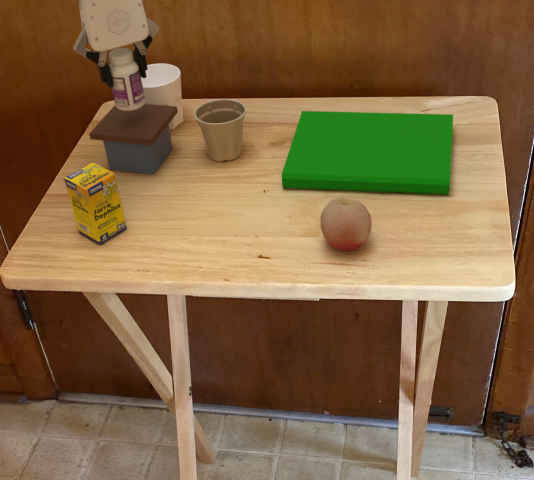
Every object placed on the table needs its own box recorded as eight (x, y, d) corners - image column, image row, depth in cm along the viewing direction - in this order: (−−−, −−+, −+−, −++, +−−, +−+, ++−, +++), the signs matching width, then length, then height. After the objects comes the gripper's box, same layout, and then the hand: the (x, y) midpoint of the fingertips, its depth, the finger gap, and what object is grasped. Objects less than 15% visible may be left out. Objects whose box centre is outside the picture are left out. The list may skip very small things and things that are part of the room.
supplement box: (100, 246, 132) (85, 189, 125) (78, 233, 136) (62, 177, 128) (128, 229, 135) (115, 172, 128) (105, 216, 139) (91, 161, 131)
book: (302, 125, 157) (302, 110, 155) (451, 129, 152) (453, 114, 149) (282, 189, 141) (281, 174, 139) (448, 196, 135) (450, 181, 133)
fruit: (373, 230, 130) (373, 188, 125) (369, 261, 124) (369, 218, 119) (323, 228, 132) (322, 186, 126) (317, 259, 126) (315, 216, 120)
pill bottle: (140, 95, 147) (130, 43, 140) (149, 107, 143) (139, 54, 137) (111, 102, 145) (100, 50, 139) (120, 114, 142) (109, 62, 135)
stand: (158, 180, 146) (150, 139, 140) (98, 173, 149) (88, 133, 144) (183, 146, 154) (176, 106, 149) (126, 140, 158) (117, 101, 152)
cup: (192, 128, 159) (185, 81, 152) (142, 139, 157) (132, 91, 151) (181, 106, 166) (174, 59, 160) (133, 115, 165) (124, 69, 158)
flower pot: (209, 138, 156) (203, 96, 150) (256, 142, 153) (252, 100, 147) (193, 164, 149) (186, 122, 143) (242, 168, 147) (237, 125, 141)
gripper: (58, -8, 124) (85, 102, 136) (162, -34, 129) (179, 74, 141) (44, -22, 129) (71, 85, 141) (145, -46, 134) (163, 59, 146)
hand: (125, 79), depth 141 cm, fingers closed on pill bottle, 5 cm apart
